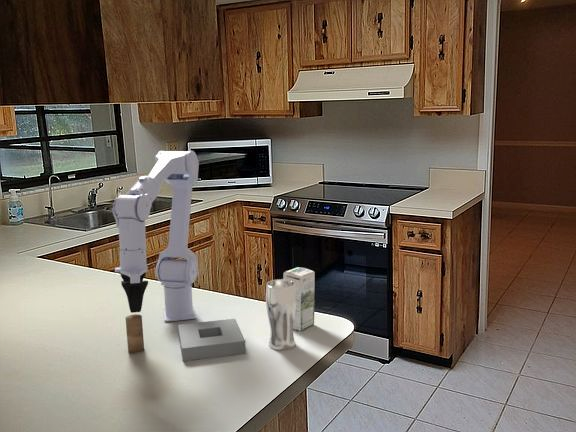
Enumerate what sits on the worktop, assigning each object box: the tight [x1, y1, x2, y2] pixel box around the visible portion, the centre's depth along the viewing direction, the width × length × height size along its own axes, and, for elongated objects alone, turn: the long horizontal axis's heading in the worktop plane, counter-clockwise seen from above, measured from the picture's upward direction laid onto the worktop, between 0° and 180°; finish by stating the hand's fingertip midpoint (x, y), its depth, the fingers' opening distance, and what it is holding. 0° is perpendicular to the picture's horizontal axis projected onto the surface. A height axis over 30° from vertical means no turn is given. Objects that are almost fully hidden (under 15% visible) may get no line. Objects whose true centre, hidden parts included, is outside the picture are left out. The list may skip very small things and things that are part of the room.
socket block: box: [177, 318, 246, 362], centre depth 128 cm, size 14×14×3 cm
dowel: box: [125, 313, 145, 354], centre depth 126 cm, size 4×4×8 cm
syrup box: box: [282, 266, 316, 332], centre depth 137 cm, size 6×6×14 cm
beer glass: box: [265, 278, 296, 351], centre depth 126 cm, size 7×7×15 cm
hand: (134, 307), depth 124 cm, fingers open, 7 cm apart
